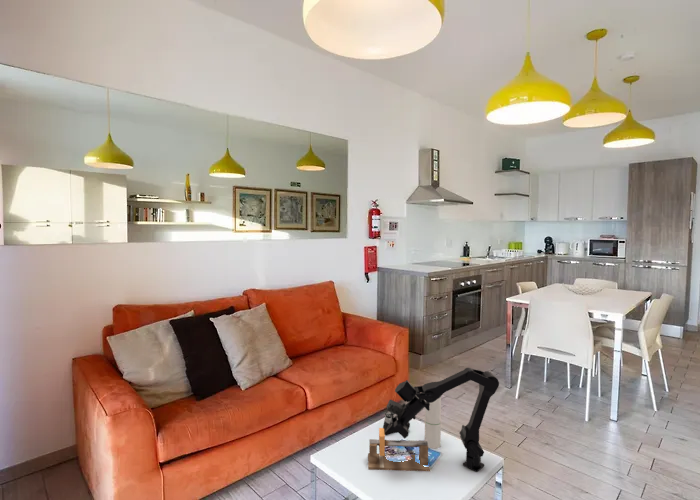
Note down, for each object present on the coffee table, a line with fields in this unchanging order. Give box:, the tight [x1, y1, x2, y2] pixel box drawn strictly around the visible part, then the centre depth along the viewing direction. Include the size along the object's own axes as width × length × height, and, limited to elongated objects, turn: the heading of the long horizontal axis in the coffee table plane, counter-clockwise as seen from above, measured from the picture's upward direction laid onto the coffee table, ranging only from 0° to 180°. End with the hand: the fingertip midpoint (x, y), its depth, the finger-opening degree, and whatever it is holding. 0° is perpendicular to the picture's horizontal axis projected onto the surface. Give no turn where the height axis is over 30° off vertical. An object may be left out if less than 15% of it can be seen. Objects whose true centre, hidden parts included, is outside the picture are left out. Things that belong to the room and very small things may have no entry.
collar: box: [378, 427, 386, 456], centre depth 160 cm, size 2×7×8 cm, turn 178°
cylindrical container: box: [424, 396, 442, 450], centre depth 175 cm, size 7×7×25 cm
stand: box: [367, 438, 431, 472], centre depth 160 cm, size 25×10×8 cm, turn 88°
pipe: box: [370, 439, 428, 448], centre depth 160 cm, size 24×2×2 cm, turn 88°
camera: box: [382, 411, 411, 437], centre depth 187 cm, size 15×11×10 cm
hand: (385, 434), depth 160 cm, fingers closed, pressing on collar
